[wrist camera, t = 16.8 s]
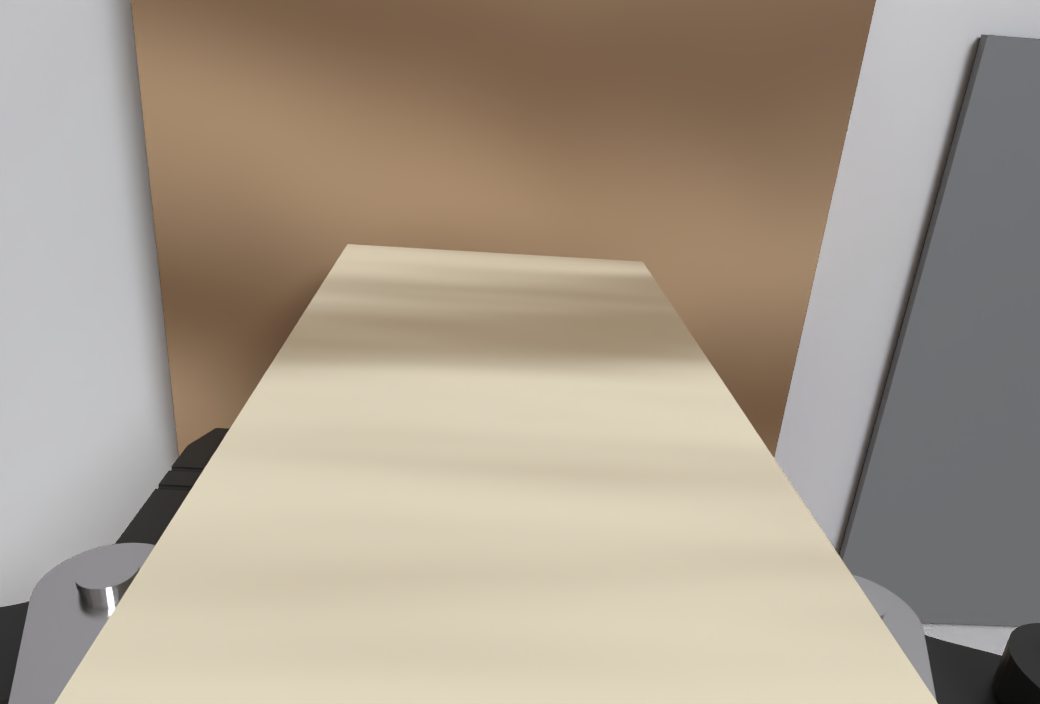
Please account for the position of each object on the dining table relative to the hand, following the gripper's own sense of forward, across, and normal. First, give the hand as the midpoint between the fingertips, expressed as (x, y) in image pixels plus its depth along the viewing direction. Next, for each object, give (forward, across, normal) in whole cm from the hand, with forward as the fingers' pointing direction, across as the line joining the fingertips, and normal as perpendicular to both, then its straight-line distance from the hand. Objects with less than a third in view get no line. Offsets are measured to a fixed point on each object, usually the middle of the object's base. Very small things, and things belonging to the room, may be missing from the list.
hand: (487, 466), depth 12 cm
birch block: (+3, 0, 0) cm, 3 cm away
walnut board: (+5, 0, 0) cm, 5 cm away
